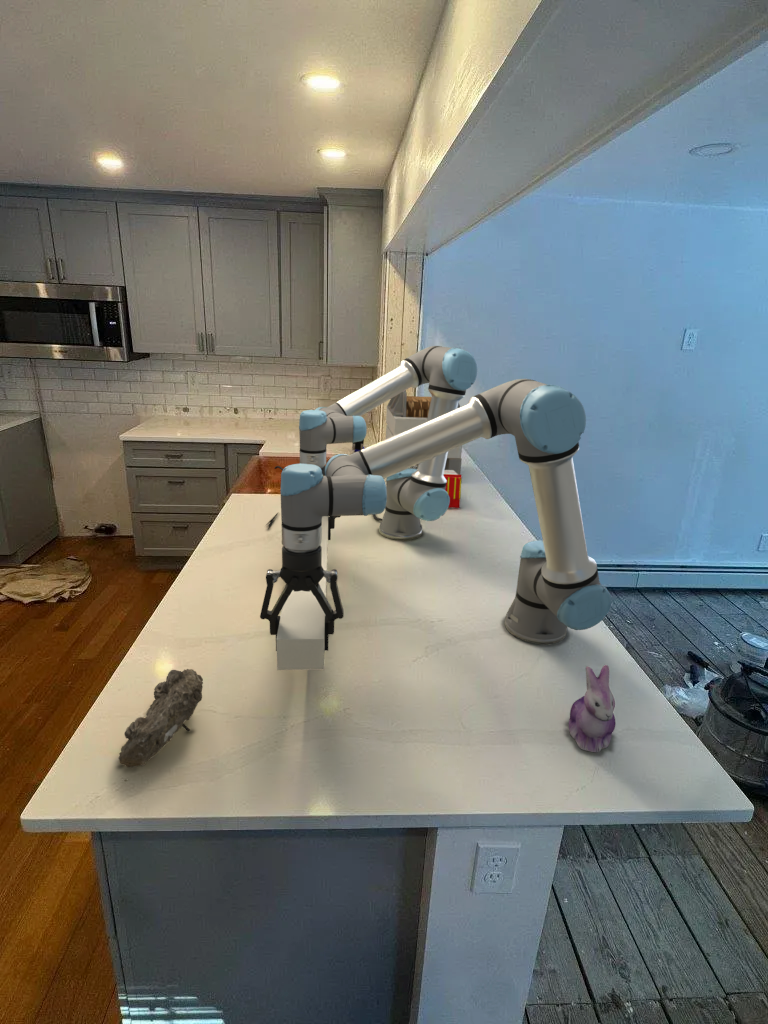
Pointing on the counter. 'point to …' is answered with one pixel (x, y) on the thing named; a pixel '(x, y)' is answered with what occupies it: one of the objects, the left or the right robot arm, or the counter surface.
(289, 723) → the counter surface
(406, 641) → the counter surface
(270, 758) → the counter surface
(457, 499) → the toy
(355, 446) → the figurine character
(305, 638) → the wide beam
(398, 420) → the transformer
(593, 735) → the figurine
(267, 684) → the counter surface
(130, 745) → the fossil
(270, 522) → the feather
